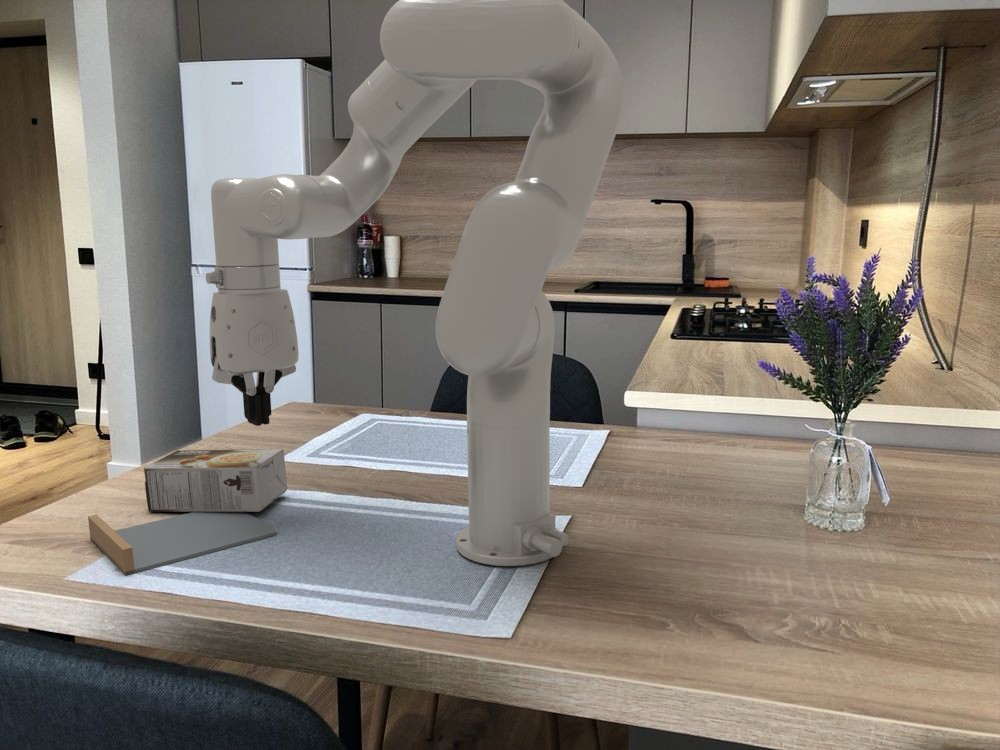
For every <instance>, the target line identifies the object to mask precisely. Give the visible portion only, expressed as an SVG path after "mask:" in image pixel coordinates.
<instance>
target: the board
mask: <svg viewBox="0 0 1000 750" xmlns="http://www.w3.org/2000/svg"><path fill="white" fill-rule="evenodd" d="M87 519H88V521H87V522H88V531H89V537H90V538H89V539H90V540H91V542H92V543H93V544H94V545H95V546H96V547H97V548H98V549H99V550H100V551H101V552H102V553H103V554H104V555H105V556H106V557H107V558H108V559H109V560H110V561H111V563H112V564H113V565H114V566H116V567H117V568H118V569H119V571H120V572H122V573H123V575H124V576H129V575H133V574H136V573H139V572H143V571H147V570H151V569H155V568H158V567H162V566H166V565H170V564H174V563H177V562H181V561H184V560H185V561H186V560H188V559H192V558H195V557H199V556H203V555H207V554H210V553H211V554H212V553H216V552H217V551H218V552H219V551H221V550H225V549H229V548H233V547H237V546H240V545H243V544H247V543H252V542H255V541H259V540H264V539H265V538H270V537H274V536H278V531H277V530H276V529H274V528H272V527H271V526H269V525H268V524H266V523H264V522H263V521H262V520H259V519H258V518H256V517H254V515H252V514H250V513H249V512H188V513H184V514H179V515H175V516H171V517H167V518H163V519H159V520H155V521H150V522H146V523H142V524H137V525H132V526H129V527H125V528H120V529H116V530H114V529H113V528H112V527H111V526H110V525H109V524H108V523H107V522H106V521H105V520H103V518H101V517H100V516H99V515H98V514H92V515H88V516H87Z"/></svg>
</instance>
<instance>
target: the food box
mask: <svg viewBox="0 0 1000 750" xmlns="http://www.w3.org/2000/svg"><path fill="white" fill-rule="evenodd" d="M143 472H144V478H145V481H144V490H145V496H146V503H147V509H148V510H147V511H148V513H151V512H157V513H158V512H160V513H161V512H162V513H163V512H165V513H167V512H170V513H173V512H174V513H175V512H176V513H177V512H178V513H180V512H181V513H182V512H185V513H186V512H188V513H192V512H247V513H249V512H252V513H254V512H257V513H258V512H259V513H260V512H261V511H263V510H265V509H266V507H268V506H269V505H270V504H272V503H273V502H274V501H276V500H277V499H278V498H280V497H281V496H282V495H283V494H285V493H287V491H288V481H287V471H286V460H285V451H284V449H282V448H278V449H277V448H272V449H271V448H269V449H268V448H267V449H265V448H264V449H263V448H262V449H207V450H206V449H201V450H200V449H199V450H198V449H197V450H196V449H195V450H193V449H191V450H187V449H186V450H179V449H176V451H173V452H172V453H169V454H167V455H165V456H164V457H162V458H160V459H158V460H156V461H154V462H152V463H150V464H149V465H146V466H145V467H143Z"/></svg>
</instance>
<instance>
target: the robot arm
mask: <svg viewBox="0 0 1000 750" xmlns="http://www.w3.org/2000/svg"><path fill="white" fill-rule="evenodd" d="M379 43H380V49H381V52H382V56H383V57H384V60H383V61H381V63H380V64H379V65H378V66H377V67H376V68H375V69H374V70H373V71H372V72H371V74H370V75H369V76H368V77H367V78H365V80H363V82H362V83H361V84H360V85H359V86H358V87H357V88H356V89H355V90H354V91H353V92H352V93H351V95H350V97H349V99H348V101H347V102H348V103H347V108H348V109H347V110H348V114H349V116H350V118H351V121H352V122H353V132H352V136H351V137H350V140H349V141H348V144H347V145H346V147H345V148H344V149H343V151H342V152H341V154H339V156H338V157H337V158H336V159H335V160H334V161H333V162H332V163H331V164H329V166H328V167H327V168H326V169H325V170H324V171H323V172H322V173H321V174H319V175H308V174H290V173H289V174H287V173H286V174H275V175H270V176H269V175H268V176H265V177H259V178H257V177H255V178H254V177H231V178H230V177H229V178H228V177H227V178H226V177H225V178H221V179H218V180H215V182H213V183H212V185H211V189H210V197H211V198H210V199H211V212H212V213H211V214H212V216H211V217H212V226H213V227H212V228H213V238H214V241H213V242H214V253H215V254H214V255H215V266H214V271H212V272H206V273H205V281H206V284H207V285H212V284H213V285H215V287H216V288H217V291H215V292H213V293H212V299H211V308H210V316H209V317H210V318H209V355H210V362H211V365H212V368H213V370H212V376H211V379H212V381H213V382H216V383H218V384H225V385H232V386H233V387H235V388H236V389H237V390H238V391H239V392H240V393H242V399H243V400H242V401H243V414H244V417H245V419H246V420H247V422H248V423H249V424H252V425H253V426H256V427H259V426H260V427H261V426H262V425H269V424H270V417H271V416H272V400H271V398H272V397H271V394H272V393H273V392H274V389H275V386H277V383H278V382H279V381H280V380H281V379H282V378H284V377H287V376H289V375H291V374H294V373H295V372H296V371H297V368H296V364H297V363H298V361H299V358H300V357H299V343H298V341H299V340H298V333H297V328H296V327H297V326H296V320H295V315H294V311H293V306H292V303H291V297H290V296H289V291H288V289H286V288H281V286H282V285H281V271H280V269H281V268H280V256H279V240H288V241H291V240H302V239H303V240H305V239H313V238H315V239H316V238H330V237H333V236H336V235H338V234H340V233H342V232H344V231H346V230H347V229H348V228H349V227H351V226H352V225H354V223H355V222H356V221H358V219H360V217H362V215H364V214H365V212H367V211H368V210H369V209H370V208H371V207H372V206H373V204H375V203H376V202H377V201H378V200H379V198H380V197H381V196H382V195H383V194H384V193H385V191H386V190H387V189H388V187H389V186H390V185H391V182H392V180H393V178H394V176H395V175H396V173H397V171H398V169H399V168H400V165H401V162H402V159H403V156H404V155H405V154H406V153H407V151H408V150H409V149H410V148H411V147H412V146H413V145H414V144H415V143H416V142H417V141H418V140H419V139H420V138H421V137H422V136H423V135H424V133H425V132H426V131H428V129H430V127H431V126H433V124H434V123H436V121H438V119H439V118H441V116H442V115H444V114H445V112H446V111H448V110H449V109H450V108H451V107H452V106H453V105H454V104H455V103H456V102H457V101H458V100H459V99H460V98H461V97H462V96H463V95H464V94H465V93H466V92H467V91H468V90H470V88H471V87H472V86H473V85H474V84H475V83H476V82H477V81H480V80H481V81H486V80H487V81H490V80H491V81H495V80H497V81H499V80H500V81H502V80H504V81H518V82H520V83H522V84H525V85H526V86H528V87H530V88H534V89H536V90H538V91H539V92H540V93H541V94H542V95H543V98H544V99H543V100H544V103H543V109H542V111H541V113H540V116H539V117H538V120H537V121H536V123H535V125H534V127H533V129H532V131H531V134H530V135H529V136H530V137H529V138H528V142H527V145H526V149H525V151H524V152H525V153H524V155H523V158H522V161H521V164H520V167H519V169H518V172H517V174H516V176H515V178H514V181H510V182H506V183H503V184H500V185H497V186H495V187H494V188H492V189H490V190H489V191H488V192H487V193H486V194H484V196H482V197H481V199H480V200H478V202H477V204H476V206H475V207H474V208H473V210H472V211H471V214H470V216H469V217H468V219H467V221H466V224H465V227H464V228H463V229H464V230H463V232H462V235H461V238H460V241H459V244H458V247H457V251H456V253H455V257H454V260H453V262H452V265H451V268H450V272H449V275H448V278H447V280H446V283H445V287H444V290H443V292H442V295H441V298H440V301H439V306H438V309H437V314H436V319H435V338H436V343H437V346H438V349H439V351H440V353H441V355H442V356H443V358H444V361H446V362H447V364H449V365H450V367H452V368H453V369H454V370H456V371H458V372H459V373H461V374H464V375H466V376H468V378H467V390H466V391H467V394H466V437H467V438H466V439H467V442H466V443H467V445H466V447H467V489H468V492H467V493H468V526H466V527H464V528H463V529H461V530H460V531H459V532H458V534H457V535H456V539H455V540H456V541H455V543H456V550H457V551H458V552H459V553H460V555H462V556H463V557H465V558H466V559H468V560H471V561H473V562H474V563H475V562H476V563H479V564H483V565H489V566H499V567H520V566H528V565H534V564H539V563H542V562H545V561H547V560H551V559H552V558H557V557H558V556H560V555H561V552H562V550H563V547H565V546H567V545H568V543H569V541H570V535H569V534H568V533H565V532H564V531H560V530H559V529H558V528H556V514H554V513H552V512H551V511H550V510H551V509H550V507H551V506H550V503H551V501H550V498H551V496H550V494H551V493H550V489H551V488H550V480H551V479H550V475H551V474H550V472H551V471H550V464H551V463H550V460H551V459H550V456H551V455H550V450H551V449H550V419H551V416H550V415H551V377H552V376H551V373H552V363H553V354H554V353H553V352H554V345H555V329H556V328H555V327H556V326H555V317H554V311H553V308H552V305H551V303H550V301H549V299H548V297H547V296H546V293H544V291H543V290H542V289H543V287H544V284H545V281H546V278H547V276H548V273H549V272H551V271H553V270H556V269H558V268H560V267H561V266H562V265H564V264H566V263H567V262H568V261H569V260H570V259H571V257H572V256H573V255H574V253H575V251H576V249H577V248H578V247H577V246H578V244H579V241H580V238H581V235H582V232H583V230H584V226H585V223H586V219H587V216H588V214H589V212H590V209H591V206H592V203H593V201H594V198H595V195H596V192H597V190H598V187H599V184H600V181H601V178H602V174H603V171H604V168H605V166H606V162H607V160H608V158H609V154H610V151H611V149H612V145H613V143H614V141H615V139H616V134H617V132H618V128H619V124H620V121H621V117H622V113H623V104H624V83H623V76H622V73H621V69H620V66H619V63H618V61H617V59H616V57H615V55H614V53H613V51H612V50H611V48H610V47H609V45H608V44H607V42H606V41H605V40H604V39H603V37H602V36H601V35H600V34H599V33H598V32H597V31H596V29H595V28H594V27H593V26H592V25H591V24H590V23H589V22H588V21H587V20H586V19H585V18H584V17H583V16H581V15H580V13H578V12H577V10H574V8H572V7H571V6H569V5H568V4H567V2H566V1H564V0H397V1H396V2H395V3H394V4H393V5H392V6H391V7H390V9H388V11H387V13H386V14H385V16H384V19H383V21H382V23H381V28H380V33H379ZM255 373H256V382H255V377H254V374H255Z"/></svg>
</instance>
